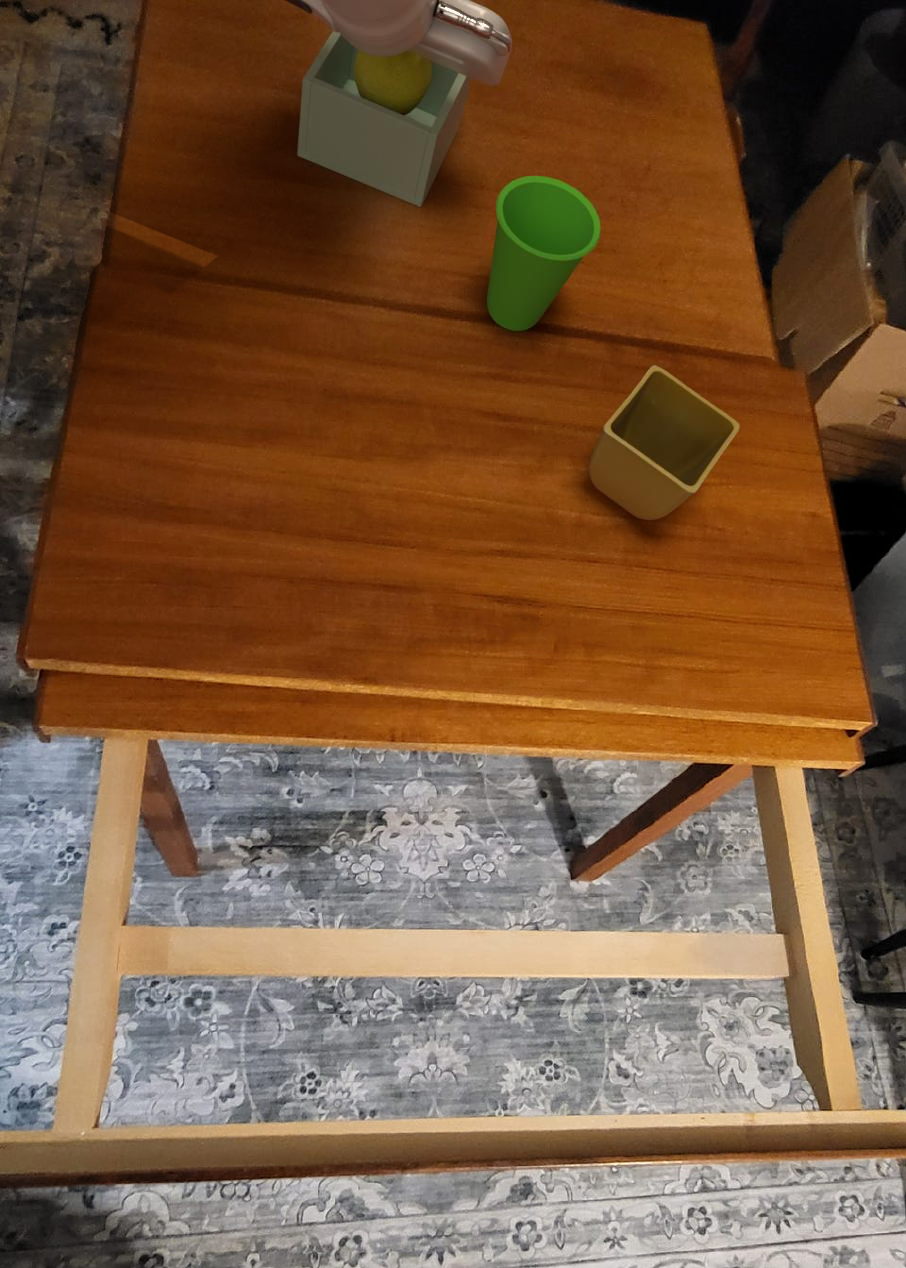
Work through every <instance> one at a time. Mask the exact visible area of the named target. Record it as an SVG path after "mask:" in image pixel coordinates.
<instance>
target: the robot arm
mask: <svg viewBox="0 0 906 1268" xmlns="http://www.w3.org/2000/svg"><path fill="white" fill-rule="evenodd" d="M284 1H286V2H288V3H289V4H291V5H294V6H295V7H297V8H299V9H301V10H303V11H305V12H306V13H307V14H310V15H313V16H314V17H315V18H317V19H318V20H320V21H321V22H322V23H323V24H325V26H327V27H328V28H329V29H330V30H331V31H332V32H333V31H334V32H336V33H339V32H340V34H341V35H342V36H343V37H344V38H345V39H346V40H347V41H348V42H349V43H350V44H351V45H352V46H354V47H355V48H357V49H359V50H360V51H362V52H365V53H367V54H371V55H375V56H392V55H397V54H400V53H402V52H404V51H409V52H411V53H413V54H416V55H418V56H420V57H422V58H424V59H426V60H429V61H431V62H433V63H435V64H439V65H441V66H444V67H446V68H448V69H451V70H453V71H455V72H458V73H460V74H462V75H465V76H467V77H469V78H471V80H474V81H477V82H479V83H481V84H483V85H486V86H490V87H491V86H492V87H496V86H498V85H500V83H501V81H502V78H503V76H504V72H505V70H506V66H507V65H508V62H509V57H510V56H511V52H512V49H513V39H512V35H511V32H510V30H509V27H508V25H507V23H506V22H505V20H504V19H503V18H502V17H501V16H500V15H499V14H498V13H496V12H494V11H493V10H491V9H489V8H487V7H486V6H484V5H481V4H480V3H477V2H474V1H472V0H284Z"/></svg>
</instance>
